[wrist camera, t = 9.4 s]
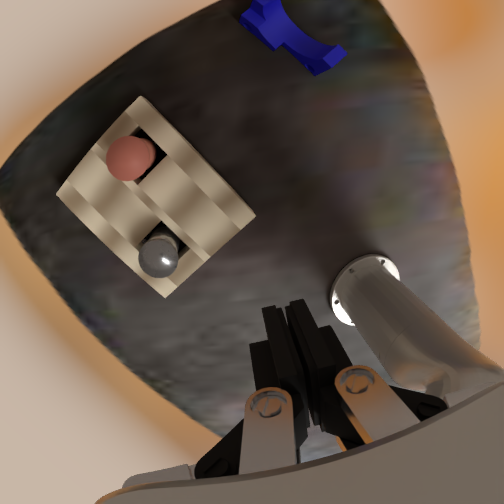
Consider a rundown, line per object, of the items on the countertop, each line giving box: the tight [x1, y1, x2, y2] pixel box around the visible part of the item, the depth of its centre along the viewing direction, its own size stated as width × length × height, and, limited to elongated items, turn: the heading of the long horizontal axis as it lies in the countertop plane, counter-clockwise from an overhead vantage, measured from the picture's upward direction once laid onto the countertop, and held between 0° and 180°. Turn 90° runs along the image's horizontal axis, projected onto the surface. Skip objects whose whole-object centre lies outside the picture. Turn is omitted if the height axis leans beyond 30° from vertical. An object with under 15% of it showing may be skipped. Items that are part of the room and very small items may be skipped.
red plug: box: [106, 136, 157, 181], centre depth 30 cm, size 5×5×6 cm
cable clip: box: [239, 0, 348, 76], centre depth 28 cm, size 12×4×6 cm, turn 47°
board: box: [56, 96, 256, 298], centre depth 35 cm, size 20×16×3 cm
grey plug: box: [138, 226, 180, 278], centre depth 36 cm, size 5×5×6 cm
